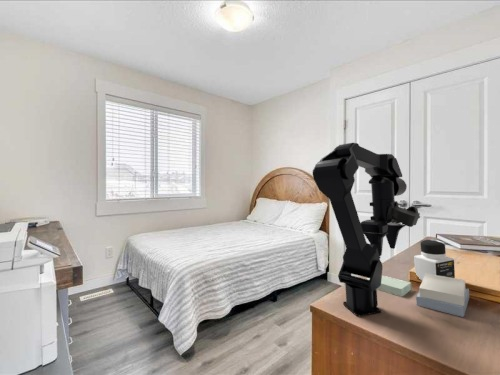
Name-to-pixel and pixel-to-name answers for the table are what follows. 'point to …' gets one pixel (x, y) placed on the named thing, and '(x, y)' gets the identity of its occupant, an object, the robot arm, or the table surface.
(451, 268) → the medicine bottle
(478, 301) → the table surface
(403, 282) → the pale green stepped block
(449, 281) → the grey stepped block
